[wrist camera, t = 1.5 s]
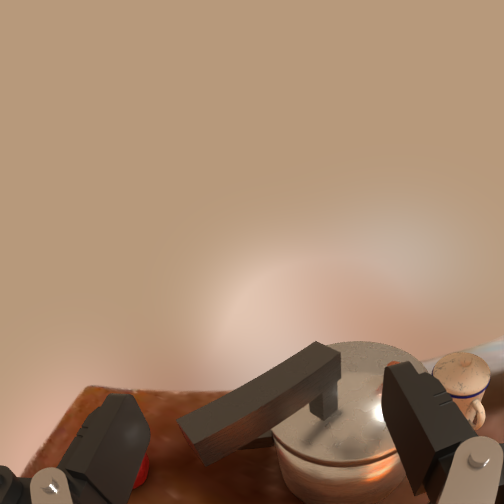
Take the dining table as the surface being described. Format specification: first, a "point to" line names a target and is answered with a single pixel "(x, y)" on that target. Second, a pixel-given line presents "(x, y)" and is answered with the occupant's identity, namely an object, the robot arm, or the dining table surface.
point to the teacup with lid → (465, 383)
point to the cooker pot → (334, 477)
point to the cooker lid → (306, 407)
